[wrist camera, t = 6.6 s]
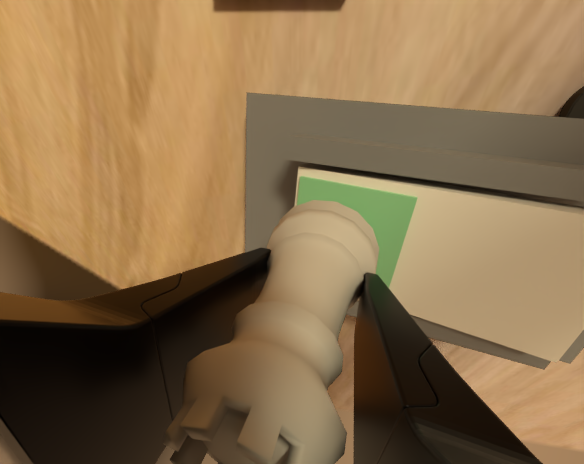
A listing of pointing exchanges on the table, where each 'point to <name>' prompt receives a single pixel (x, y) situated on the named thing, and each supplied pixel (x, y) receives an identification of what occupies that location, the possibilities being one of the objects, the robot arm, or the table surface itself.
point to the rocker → (469, 255)
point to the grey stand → (410, 164)
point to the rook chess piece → (281, 350)
